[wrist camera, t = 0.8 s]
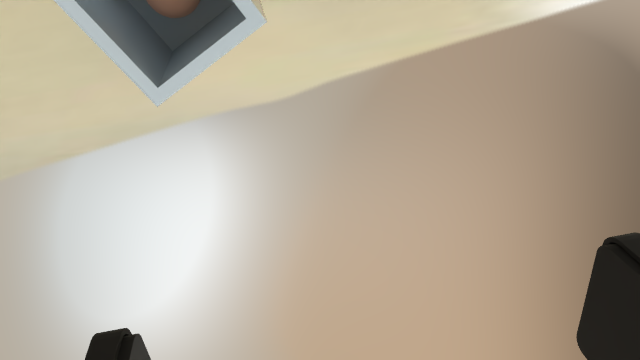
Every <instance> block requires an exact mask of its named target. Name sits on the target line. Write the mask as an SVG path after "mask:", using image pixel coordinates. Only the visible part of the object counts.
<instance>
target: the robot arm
mask: <svg viewBox="0 0 640 360" xmlns="http://www.w3.org/2000/svg"><path fill="white" fill-rule="evenodd" d="M577 342H578V346H579V348H580V350H581V352H582V353H583V355H584V356H585V357H586V358H587V360H640V233H630V234H625V235H620V236H614V237H609V238H607V239H606V240H604V243H603V245H602V246H600V247H599V248H598V250H597V253H596V258H595V262H594V265H593V270H592V274H591V278H590V282H589V286H588V290H587V294H586V299H585V303H584V307H583V311H582V315H581V320H580V324H579V327H578V331H577ZM85 360H151V359H150V356H149V354H148V352H147V349H146V347H145V344H144V342H143V340H142V337H141V336H140V334H134V335H132V334H131V332H130V330H129V329H127V328H123V329H118V330H112V331H107V332H102V333H96V334H95V335H94V336H93V337H92V340H91V342H90V346H89V349H88V351H87V354H86V358H85Z"/></svg>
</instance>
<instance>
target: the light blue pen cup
mask: <svg viewBox="0 0 640 360" xmlns="http://www.w3.org/2000/svg"><path fill="white" fill-rule="evenodd" d="M54 1H55V2H56V3H57V4H58V5H59V6H60V7H61V8H62V9H63V10H64V11H65V12H66V13H67V14H68V16H69V17H70V18H71V19H72V20H73V21H74V22H75V23H76V24H77V25H78V26H79V27H80V28H81V29H82V30H83V31H84V32H85V33H86V34H87V35H88V36H89V37H90V38H91V39H92V40H93V41H94V42H95V43H96V44H97V45H98V46H99V47H100V48H101V49H102V50H103V51H104V53H105V54H106V55H107V56H108V57H109V58H110V59H111V60H112V61H113V62H114V63H115V64H116V65H117V66H118V67H119V68H120V69H121V70H122V71H123V72H124V73H125V74H126V75H127V76H128V77H129V78H130V79H131V80H132V81H133V82H134V83H135V84H136V85H137V86H138V87H139V88H140V89H141V91H142V92H143V93H144V94H145V95H146V96H147V97H148V98H149V99H150V100H151V101H152V102H153V103H154V104H155V105H156V106H157V107H158V106H159V105H160V104H162V103H163V102H164V101H165V100H167V99H168V98H169V97H171V96H172V95H173V94H174V93H176V92H177V91H178V90H180V89H181V88H182V87H183V86H185V85H186V84H187V83H189V82H190V81H191V80H193V79H194V78H195V77H196V76H198V75H199V74H200V73H202V72H203V71H204V70H205V69H207V68H208V67H209V66H211V65H212V64H213V63H214V62H216V61H217V60H218V59H220V58H221V57H222V56H224V55H225V54H226V53H227V52H229V51H230V50H231V49H233V48H234V47H235V46H236V45H238V44H239V43H240V42H242V41H243V40H244V39H245V38H247V37H248V36H249V35H251V34H252V33H253V32H255V31H256V30H257V29H258V28H260V27H261V26H262V25H264V24H265V23H266V22H267V20H266V17H265V14H264V11H263V8H262V4H261V1H260V0H200V2H199V4H198V6H197V7H196V9H195V10H194V11H193V12H192V13H190V14H189V15H187V16H185V17H181V18H169V17H166V16H163V15H161V14H159V13H157V12H156V11H155V10H154V9H153V8H152V7H151V6H150V5H149V4H148V2H147V1H146V0H54Z"/></svg>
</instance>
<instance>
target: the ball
mask: <svg viewBox="0 0 640 360" xmlns="http://www.w3.org/2000/svg"><path fill="white" fill-rule="evenodd" d="M146 1H147V2H148V4H149V5H150V6H151V7H152V8H153V9H154V10H155V11H156V12H157V13H159V14H161V15H163V16H166V17H169V18H181V17H185V16H187V15H189V14H190V13H192V12H193V11H194V10H195V9H196V7H197V6H198V4H199V2H200V0H146Z"/></svg>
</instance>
